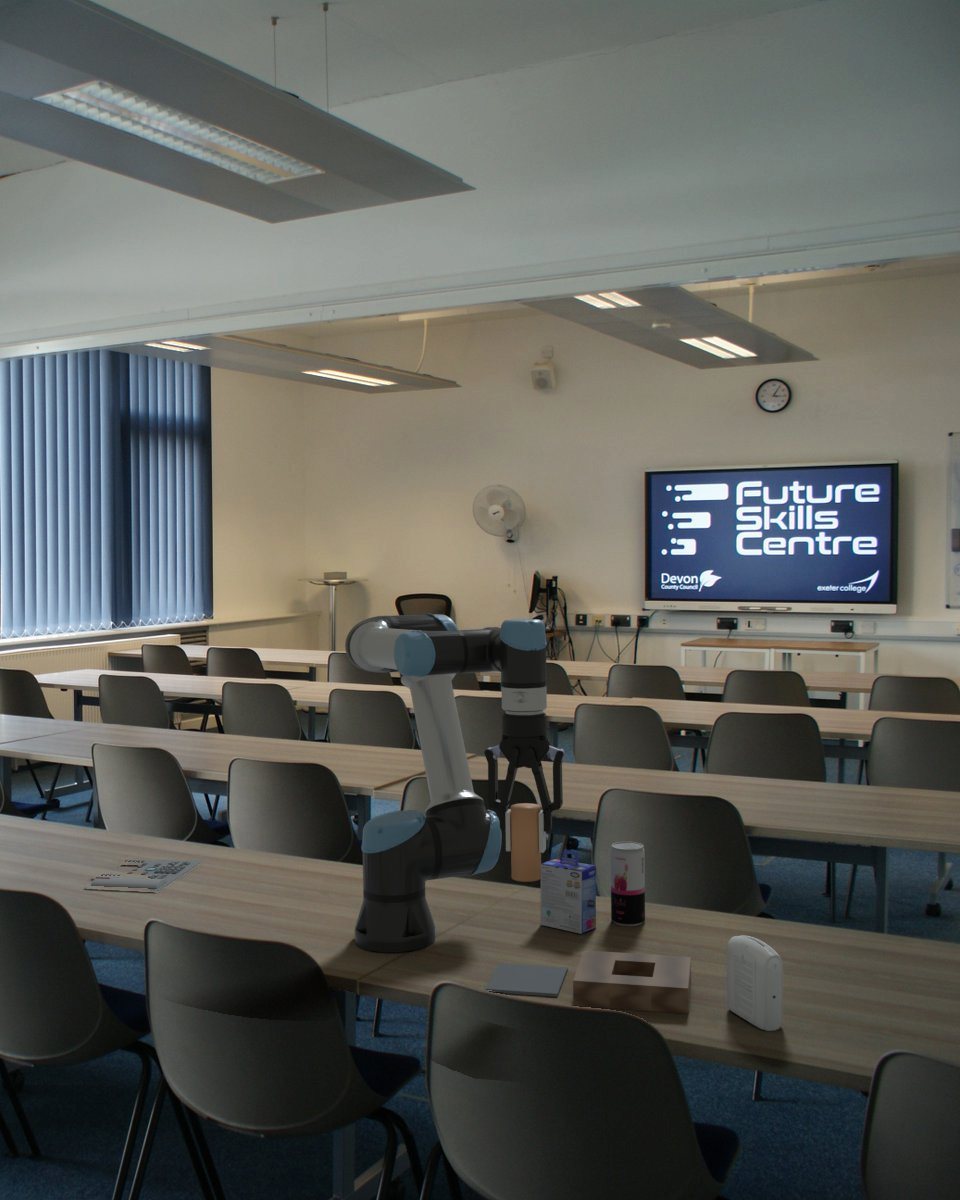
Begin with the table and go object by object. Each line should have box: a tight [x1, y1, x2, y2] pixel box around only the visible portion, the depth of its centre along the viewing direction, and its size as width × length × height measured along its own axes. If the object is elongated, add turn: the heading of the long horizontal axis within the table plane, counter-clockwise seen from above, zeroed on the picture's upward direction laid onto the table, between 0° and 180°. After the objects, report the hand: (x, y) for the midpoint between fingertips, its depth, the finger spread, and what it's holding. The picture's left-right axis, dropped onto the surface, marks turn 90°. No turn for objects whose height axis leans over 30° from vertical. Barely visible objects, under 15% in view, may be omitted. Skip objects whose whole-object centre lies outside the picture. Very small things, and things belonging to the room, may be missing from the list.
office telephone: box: [90, 859, 203, 891], centre depth 257 cm, size 23×3×20 cm
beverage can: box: [610, 840, 646, 927], centre depth 220 cm, size 6×6×15 cm
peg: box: [510, 802, 542, 883], centre depth 189 cm, size 5×5×12 cm
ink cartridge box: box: [539, 849, 597, 935], centre depth 218 cm, size 10×6×14 cm, turn 53°
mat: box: [484, 962, 569, 998], centre depth 190 cm, size 12×12×1 cm
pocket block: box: [572, 950, 692, 1015], centre depth 185 cm, size 18×14×4 cm
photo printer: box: [726, 934, 784, 1032], centre depth 174 cm, size 10×4×12 cm, turn 24°
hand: (526, 849), depth 190 cm, fingers closed on peg, 5 cm apart
